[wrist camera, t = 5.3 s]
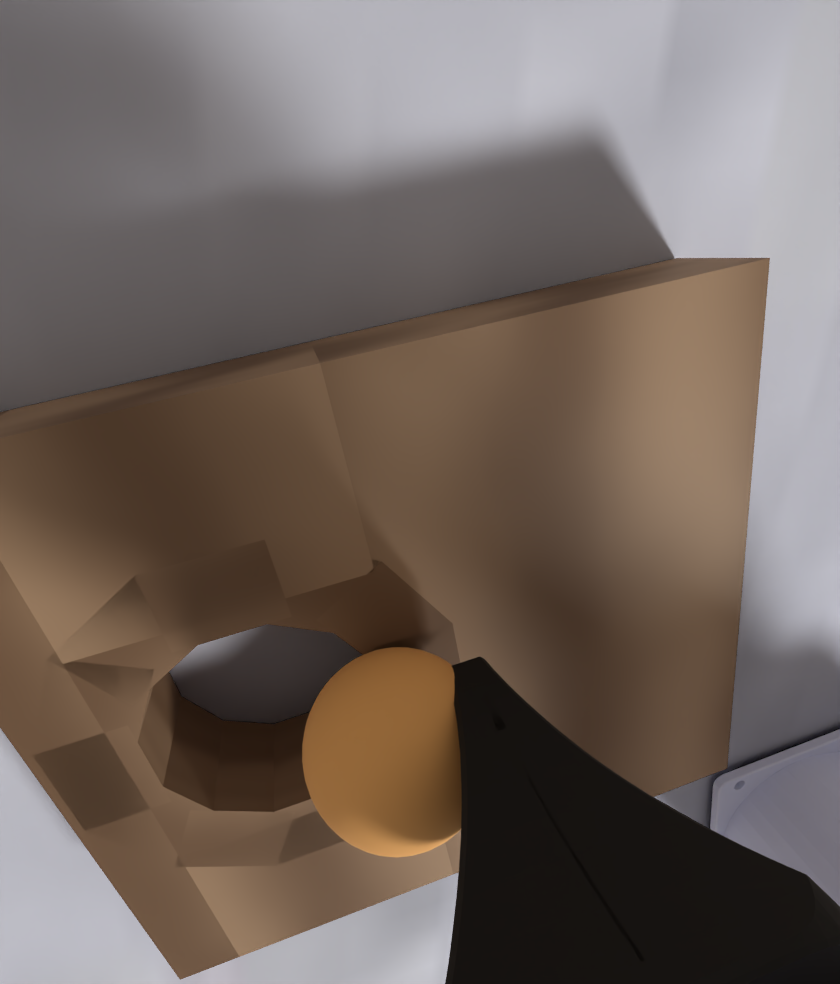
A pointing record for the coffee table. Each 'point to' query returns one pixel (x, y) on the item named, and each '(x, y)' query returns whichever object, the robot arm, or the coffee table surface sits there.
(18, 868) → the coffee table surface
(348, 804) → the ball
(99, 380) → the coffee table surface
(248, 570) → the board
